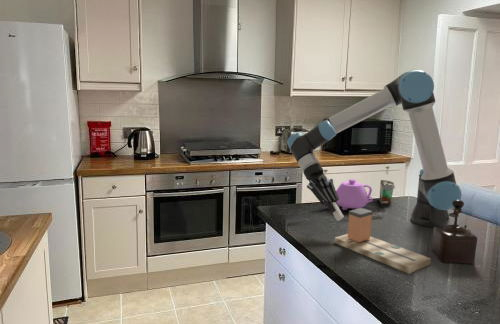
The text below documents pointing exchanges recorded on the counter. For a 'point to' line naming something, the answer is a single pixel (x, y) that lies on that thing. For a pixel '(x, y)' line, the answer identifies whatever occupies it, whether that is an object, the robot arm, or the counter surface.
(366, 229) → the fader knob
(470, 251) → the coffee grinder
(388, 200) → the food container
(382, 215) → the counter surface
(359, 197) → the teapot
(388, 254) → the fader board
